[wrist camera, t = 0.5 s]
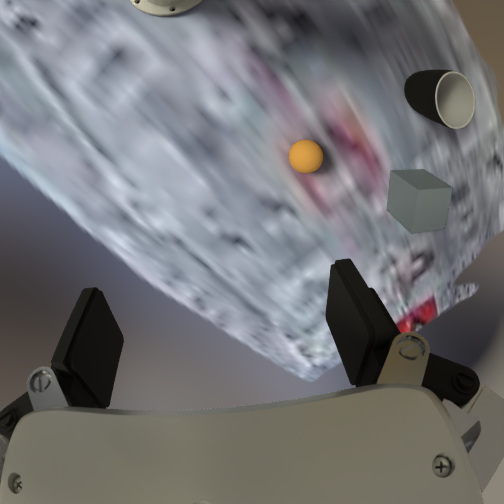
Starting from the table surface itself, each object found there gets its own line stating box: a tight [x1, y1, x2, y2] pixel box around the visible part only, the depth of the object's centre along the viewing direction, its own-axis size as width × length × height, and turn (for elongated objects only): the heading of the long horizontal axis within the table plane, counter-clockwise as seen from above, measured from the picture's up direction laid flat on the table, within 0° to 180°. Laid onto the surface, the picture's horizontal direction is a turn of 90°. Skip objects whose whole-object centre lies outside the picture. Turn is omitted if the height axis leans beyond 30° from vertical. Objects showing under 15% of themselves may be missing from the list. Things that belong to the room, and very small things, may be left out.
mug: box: [404, 70, 475, 129], centre depth 34 cm, size 12×9×10 cm
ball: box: [289, 140, 323, 173], centre depth 41 cm, size 5×5×5 cm
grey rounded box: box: [387, 169, 453, 234], centre depth 45 cm, size 8×8×9 cm
